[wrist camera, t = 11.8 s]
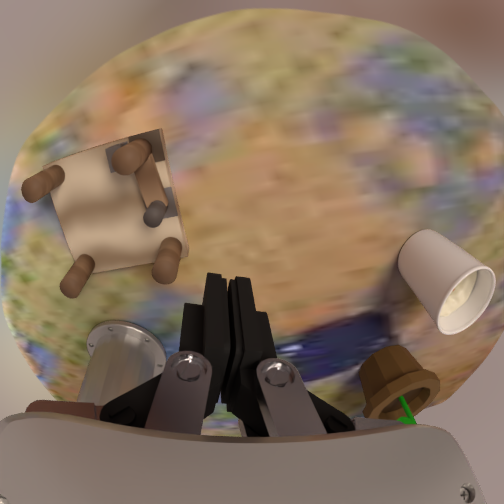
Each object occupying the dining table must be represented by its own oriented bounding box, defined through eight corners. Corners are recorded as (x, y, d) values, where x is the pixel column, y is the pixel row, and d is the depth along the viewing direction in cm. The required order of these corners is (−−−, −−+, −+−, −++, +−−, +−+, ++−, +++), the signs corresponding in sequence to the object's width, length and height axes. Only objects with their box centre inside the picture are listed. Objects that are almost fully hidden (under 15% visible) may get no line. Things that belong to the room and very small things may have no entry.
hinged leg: (173, 209, 31) (164, 231, 26) (152, 216, 31) (140, 238, 26) (148, 135, 27) (133, 142, 22) (126, 143, 27) (107, 152, 22)
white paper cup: (405, 219, 36) (461, 264, 26) (453, 228, 38) (505, 269, 27) (383, 282, 41) (424, 338, 30) (431, 284, 42) (472, 332, 32)
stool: (190, 248, 35) (184, 284, 29) (86, 266, 35) (64, 302, 28) (162, 127, 28) (146, 135, 22) (50, 161, 28) (15, 179, 22)
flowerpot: (334, 388, 52) (382, 530, 25) (374, 333, 46) (455, 493, 19) (390, 387, 55) (442, 505, 29) (429, 338, 49) (505, 463, 23)
